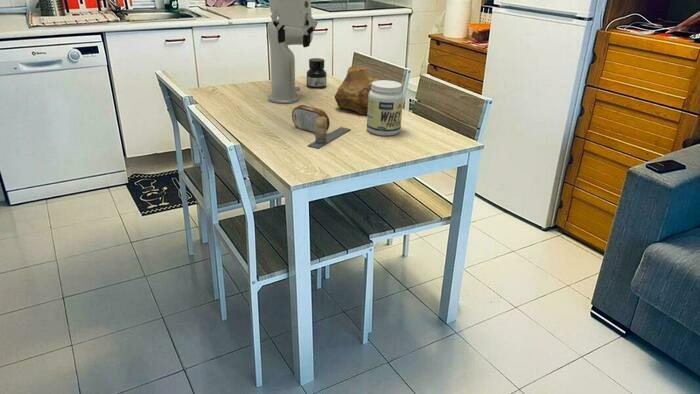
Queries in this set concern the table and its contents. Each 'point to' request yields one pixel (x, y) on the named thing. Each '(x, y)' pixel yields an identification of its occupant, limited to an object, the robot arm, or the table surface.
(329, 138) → the strip
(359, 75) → the rough brown rock
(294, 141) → the table surface
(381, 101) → the supplement tub
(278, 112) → the table surface
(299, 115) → the tin
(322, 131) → the tan and grey cylinder
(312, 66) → the ink bottle
